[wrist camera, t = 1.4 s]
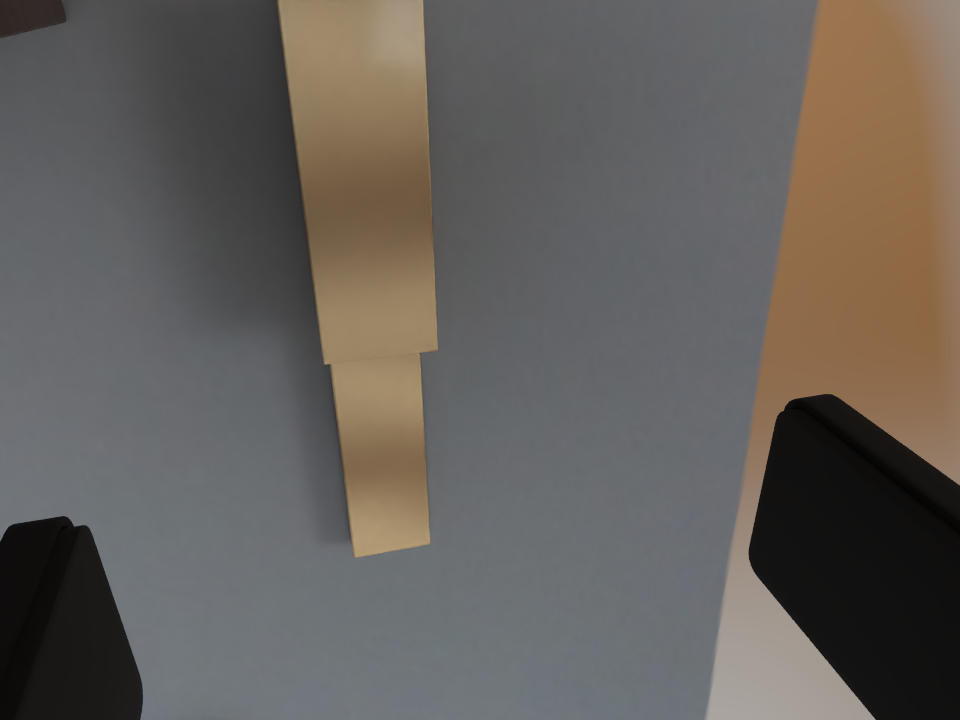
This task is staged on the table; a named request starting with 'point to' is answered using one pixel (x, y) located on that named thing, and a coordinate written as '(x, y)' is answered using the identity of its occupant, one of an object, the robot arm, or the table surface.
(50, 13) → the stand
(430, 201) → the tan block
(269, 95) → the table surface
